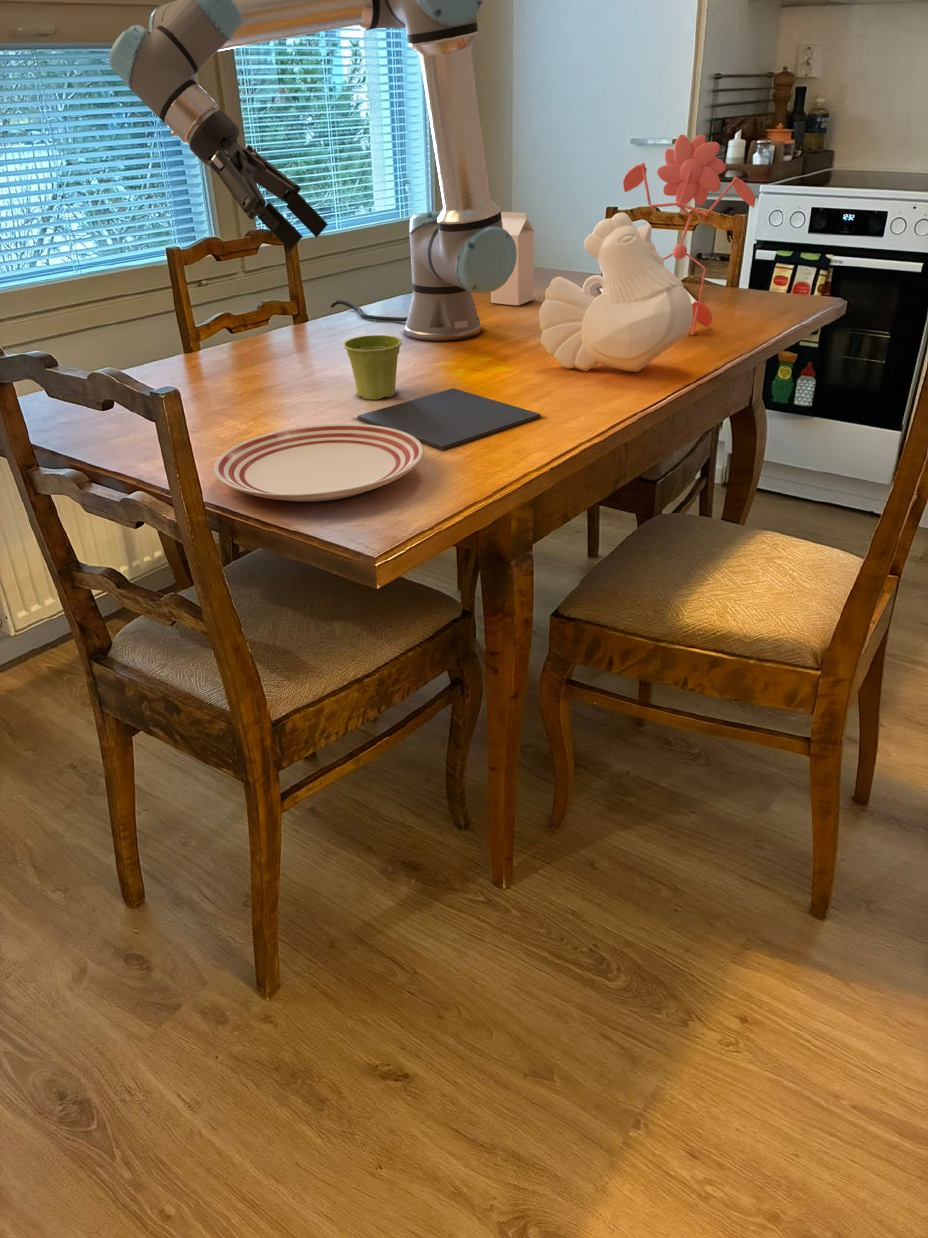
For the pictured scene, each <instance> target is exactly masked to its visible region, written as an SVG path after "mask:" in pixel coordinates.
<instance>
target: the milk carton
mask: <svg viewBox="0 0 928 1238" xmlns="http://www.w3.org/2000/svg"><path fill="white" fill-rule="evenodd" d="M501 218H502V226H503V229H505V230H506V231H507V232H508V233H509V234H510V235H511V236H512V238H513V240H514V242H515V245H516V249H517V259H516V264H515V268H514V270H513V273H512V274H511V275H510V277H509V278H508V280H507V282H506V283H505V284H504V285H503V286H501V287H500V288H499V289H497V290H495V291H493V292H490V295H491V296H490V297H491V301H490V303H493V304H497V305H507V306H516V307H517V306H521V305H524V304H525V303H529V302H531V301H533V300H534V284H535V283H534V281H535V280H534V278H535V275H534V273H535V271H534V270H535V230H534V228H533V226H532V225H531V223H530V221H529V220H528V213H527V212H513V211H512V212H511V211H501Z"/></svg>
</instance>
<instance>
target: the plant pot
mask: <svg viewBox="0 0 928 1238" xmlns="http://www.w3.org/2000/svg"><path fill="white" fill-rule="evenodd" d="M402 345H403V341H402V339H401V338H400V337H397V336H393V335H388V334H387V335H386V334H372V335H371V334H370V335H361V336H356V337H353V338H349V339H347V340H345V341H344V342H343V347H344V349H345V350H346V353H347V356H348V357H349V361H350V366H351V369H352V374H353V378H354V382H355V388H356V391H357V395H358V396H359V397H361V398H362V399H365V400H373V401H377V400H381V399H383V398H385V397H386V398H391V397H393V396H394V395H395V393H396V383H397V382H396V381H397V369H398V367H397V366H398V358H399V357H398V356H399V353H400V347H401V346H402Z"/></svg>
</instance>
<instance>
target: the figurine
mask: <svg viewBox="0 0 928 1238" xmlns="http://www.w3.org/2000/svg"><path fill="white" fill-rule="evenodd" d="M720 149H721V146H720V143H719V142H717V141H708V142H707V137H706V135H704V134H698V135H697V136H695V137H694V138H693V139H692V140H691V141H689V139H688V137H687V136H686V135H685V134H680V135H679V136H678V137H677V138H676V140H675V142H674V147H673V148H666V150H665V152H664V161H665V163H666V164H665V165H662V166H660V167H658V168H657V171H656V174H657V176H658V177H659V178H660V180H661V181H663V182H664V183H665V184H664V186H663V190H662V192H663V194H664V195H665V196H668V197H669V196H670V197H675V202H670V203H669V202H668V203H657V204H656V203H655V204H652V200H651V196H650V190H649V184H648V179H647V167H646V164H645V162H641V163H640V164H636V165H634V166H633V167H632V168H631V169H629V170H628V171H627V172H626V174H625V175H624V178H623V180H622V184H623V191H624V193H627V192H630V191H632V190H634V189H636V188H637V187H639V186H640V185H641V184H642V183H643V184H644V189H645V195H646V200H647V205H648V206H649V207H648V208H649V209H654V208H663V207H665V208H666V207H674V206H675V207H677V208H680V209H681V210H682V212H684V213H685V215H686V216H687V217H688V218H687V221H686V224H685V228H684V232H683V234H682V237H681V240H680V243H679V244H677V245H675V246H674V247H673V250H672V253H670V254H669V255H667V256H665V257H663V258H662V260H663V261H666V260H667V259H669V258H671V257H674V258H675V259H677V260H682V259H684V258H685V257H686V256H687V258H690V259H691V260H692V261H693V262H695V263H696V265H698V266H700V267H701V268H703V275H702V278H701V283H700V284H701V285H700V291H699V296H698V300H696V301H697V302H696V301H695V302H694V303H693V304H692V308H693V318H692V319H693V321H692V326H691V327H692V328H691V333H690V336H694V335H695V332H696V325H697V322H698V323H699V324H701V325H703V326H704V327H706V328H708V329H710V327H711V324H712V321H713V315H712V311H711V310H710V309H709V307H708V306H707V305H706V304H705V303H704V302H701V300H702V295H703V289H704V283H705V278H706V272H707V269H706V266H705V265H703V264H702V263H700V261H698V260H697V259H695V258H694V257H693V256H692V255H690V254H689V253H688V249H687V246H685V245H684V244H683V243H684V240H685V237H686V235H687V233H688V230H689V227H690V224H691V222H692V219H693V218H692V214H691V213H690V212H689V211H688V210H690V211H693V212H695V213H697V214H700V215H702V216H704V217H708V215H709V214H710V213H711V212H712V211H713V210H714V208H715V207H716V206H717V205H718V204H719V202H720V201H721V200H722V199H723V198H724V196H725V195H726V194H727V193H728V192H729V191H730V189H731V188H732V187H733V189H734V190H735V192H736V194H737V195H738V196H739V198H740V199H741V200H742V201H744V202H745V203H746V204H747V205H748V206H750V207H751V208H754V207H755V205H756V197H755V195H754V192H753V190H752V189H751V187H749V186H748V185H747V184H746V183H745V181H744V180H742V179H740V178H739V177H738V176H734V177H733V178H732V181H731V182H730V183H729V184H728V186H727V187H726V188H725V189H724V190H723V191H722V193H721V194H720V195H719V197H718V198H716V200H715V201H714V202H713V204H712V205H711V206H710V208H708V210H707V211H704V210H701V209H698V208H696V207H694V206H691V205H688V204H689V203H690V202H691V201H692V199H693V201H694V203H695V204H696V205H698V206H704V205H705V203H706V201H707V199H708V198H709V197H708V196H709V192H712V193H717V192H719V191H720V190H721V187H722V183H721V179H720V176H719V175H720V174H723V173H724V172H725V171H726V168H727V166H726V164H725V162H724V161H723V160H722V159H721V158H718V157H717V155H718V154H719V152H720ZM725 336H726V334H724V335H721V336H720V338H723V337H725Z"/></svg>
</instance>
